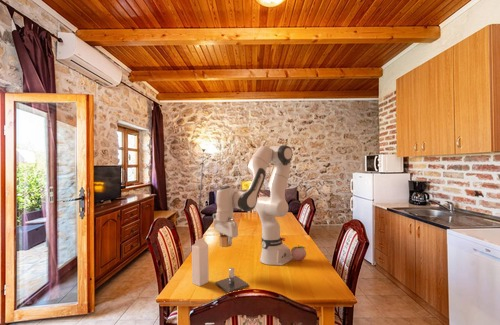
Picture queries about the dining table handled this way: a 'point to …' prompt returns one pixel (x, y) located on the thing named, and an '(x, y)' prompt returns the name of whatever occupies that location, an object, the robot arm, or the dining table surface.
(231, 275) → the grey peg stand
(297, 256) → the decorative fruit
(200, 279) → the milk
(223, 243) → the collar
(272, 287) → the dining table surface
